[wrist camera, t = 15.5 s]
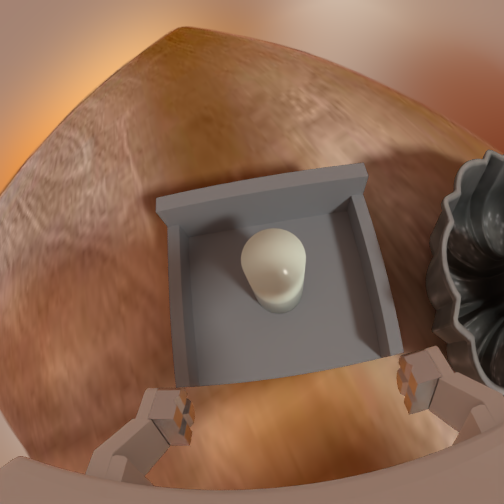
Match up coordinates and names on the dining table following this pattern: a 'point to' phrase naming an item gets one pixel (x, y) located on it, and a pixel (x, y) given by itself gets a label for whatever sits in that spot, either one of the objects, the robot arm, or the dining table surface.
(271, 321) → the grey open tray
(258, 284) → the dome-topped cream cylinder
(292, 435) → the dining table surface
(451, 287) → the bundt pan
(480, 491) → the robot arm
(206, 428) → the dining table surface
